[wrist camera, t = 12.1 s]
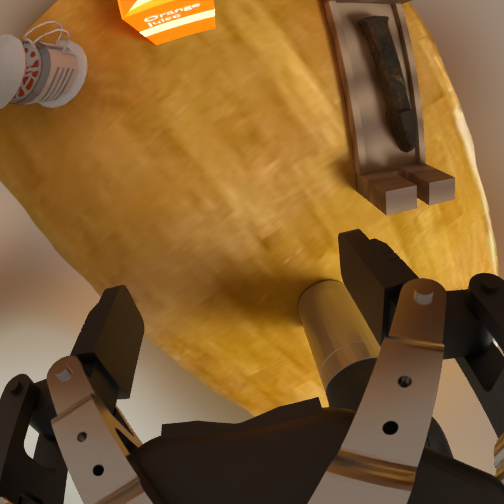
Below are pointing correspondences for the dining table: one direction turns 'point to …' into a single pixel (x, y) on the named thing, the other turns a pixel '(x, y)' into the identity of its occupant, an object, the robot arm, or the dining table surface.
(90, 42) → the dining table surface
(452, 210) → the dining table surface
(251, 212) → the dining table surface
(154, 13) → the orange juice
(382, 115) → the cradle
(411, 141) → the hand tool
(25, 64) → the french press
